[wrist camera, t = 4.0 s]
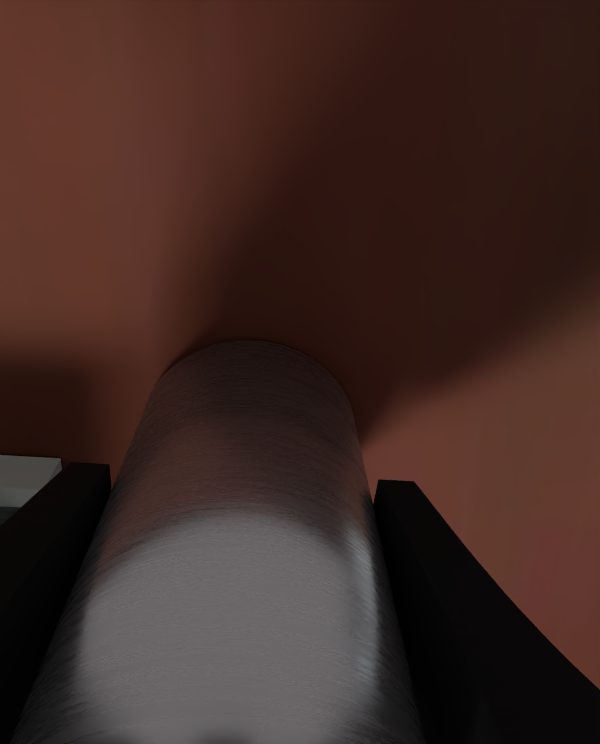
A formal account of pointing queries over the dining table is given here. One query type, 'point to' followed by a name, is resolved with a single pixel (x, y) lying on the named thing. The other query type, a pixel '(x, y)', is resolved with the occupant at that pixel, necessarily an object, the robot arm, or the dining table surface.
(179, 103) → the dining table surface
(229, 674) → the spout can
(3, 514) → the box
